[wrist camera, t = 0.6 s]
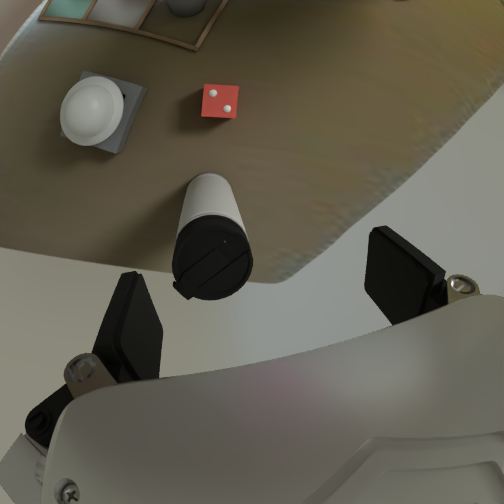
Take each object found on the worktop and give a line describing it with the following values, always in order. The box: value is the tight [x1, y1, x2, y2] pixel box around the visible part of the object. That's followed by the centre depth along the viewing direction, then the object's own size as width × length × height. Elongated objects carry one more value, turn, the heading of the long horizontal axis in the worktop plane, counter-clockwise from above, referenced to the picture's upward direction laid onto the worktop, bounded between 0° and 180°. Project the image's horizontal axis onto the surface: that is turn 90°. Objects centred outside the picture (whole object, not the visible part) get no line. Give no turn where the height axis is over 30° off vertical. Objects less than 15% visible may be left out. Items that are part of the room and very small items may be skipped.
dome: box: [60, 76, 124, 146], centre depth 25 cm, size 8×8×7 cm
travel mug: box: [172, 172, 253, 300], centre depth 29 cm, size 6×7×20 cm
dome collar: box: [60, 71, 147, 154], centre depth 28 cm, size 9×9×3 cm
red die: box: [201, 84, 239, 118], centre depth 30 cm, size 4×4×4 cm
